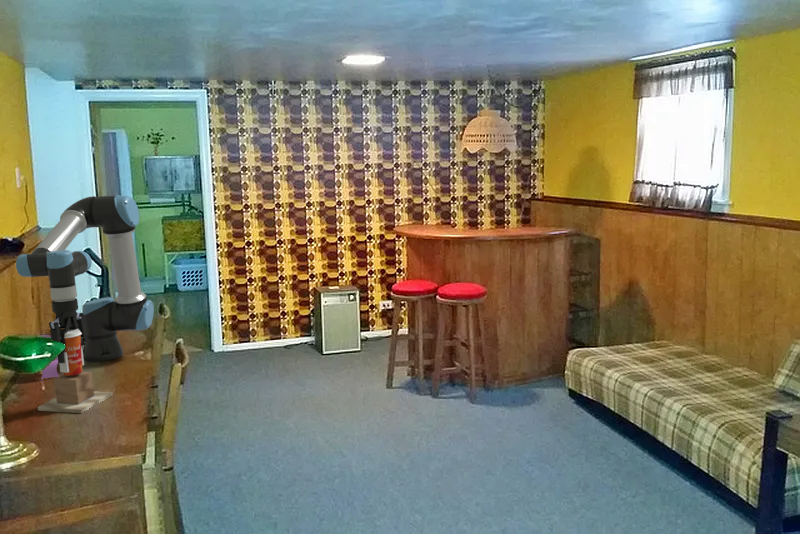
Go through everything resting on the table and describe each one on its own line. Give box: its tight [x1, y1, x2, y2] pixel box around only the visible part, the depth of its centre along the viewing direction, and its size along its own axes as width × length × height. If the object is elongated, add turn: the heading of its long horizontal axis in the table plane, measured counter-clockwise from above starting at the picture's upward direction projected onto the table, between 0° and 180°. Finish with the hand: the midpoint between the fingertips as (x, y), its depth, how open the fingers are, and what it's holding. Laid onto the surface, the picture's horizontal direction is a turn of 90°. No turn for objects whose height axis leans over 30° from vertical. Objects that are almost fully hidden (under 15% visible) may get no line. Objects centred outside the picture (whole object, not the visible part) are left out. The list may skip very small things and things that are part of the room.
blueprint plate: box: [37, 391, 114, 414], centre depth 237 cm, size 16×16×1 cm
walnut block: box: [53, 371, 95, 404], centre depth 237 cm, size 8×8×8 cm
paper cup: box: [62, 329, 83, 376], centre depth 235 cm, size 8×8×14 cm
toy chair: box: [40, 334, 60, 380], centre depth 266 cm, size 8×9×15 cm
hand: (72, 368), depth 236 cm, fingers closed on paper cup, 7 cm apart
